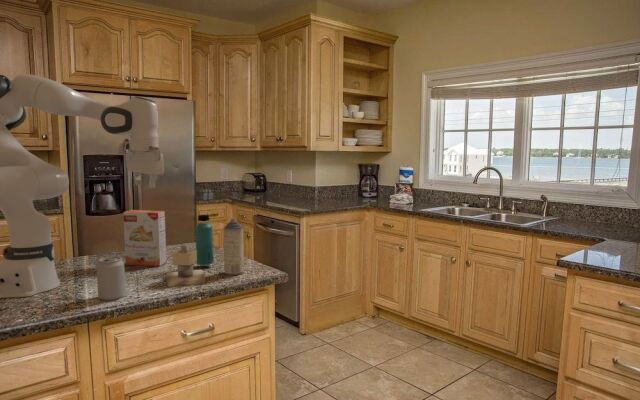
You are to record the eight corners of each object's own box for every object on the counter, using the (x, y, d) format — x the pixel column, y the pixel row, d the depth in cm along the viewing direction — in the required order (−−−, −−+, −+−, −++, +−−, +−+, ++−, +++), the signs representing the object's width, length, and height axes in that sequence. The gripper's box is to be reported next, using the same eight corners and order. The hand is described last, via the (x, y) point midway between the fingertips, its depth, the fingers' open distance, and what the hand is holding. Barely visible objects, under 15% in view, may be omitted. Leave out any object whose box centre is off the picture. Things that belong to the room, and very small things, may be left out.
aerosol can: (247, 272, 159) (246, 218, 157) (232, 276, 154) (231, 220, 152) (235, 269, 164) (235, 216, 161) (220, 273, 158) (219, 218, 156)
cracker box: (124, 265, 168) (122, 211, 165) (133, 261, 173) (131, 209, 171) (159, 267, 166) (157, 212, 163) (167, 263, 172) (165, 210, 169)
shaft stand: (167, 286, 142) (166, 250, 141) (166, 276, 154) (165, 243, 152) (205, 283, 147) (204, 247, 145) (202, 273, 158) (201, 240, 156)
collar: (172, 264, 147) (172, 253, 146) (180, 260, 153) (180, 248, 152) (189, 265, 146) (189, 253, 146) (196, 260, 152) (196, 249, 151)
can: (106, 293, 136) (104, 255, 135) (130, 293, 136) (128, 255, 134) (93, 301, 129) (90, 261, 127) (118, 301, 128) (116, 261, 127)
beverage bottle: (209, 269, 163) (208, 216, 161) (192, 268, 164) (191, 215, 162) (216, 265, 169) (215, 213, 167) (200, 264, 171) (199, 213, 168)
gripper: (169, 147, 145) (169, 188, 147) (139, 145, 158) (140, 183, 160) (150, 146, 140) (150, 189, 142) (122, 144, 154) (122, 184, 155)
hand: (145, 186), depth 151 cm, fingers open, 8 cm apart
